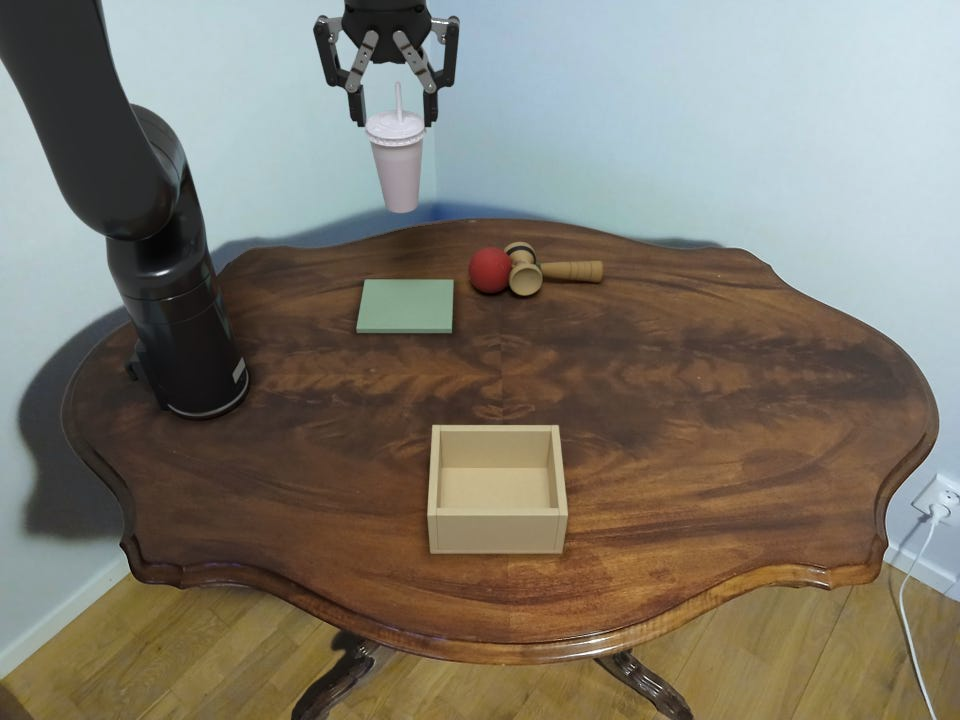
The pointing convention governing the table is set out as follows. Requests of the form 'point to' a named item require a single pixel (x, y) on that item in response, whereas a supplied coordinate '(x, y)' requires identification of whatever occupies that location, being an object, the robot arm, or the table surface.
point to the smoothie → (397, 154)
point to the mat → (406, 306)
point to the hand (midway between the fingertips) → (395, 123)
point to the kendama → (524, 269)
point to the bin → (496, 490)
